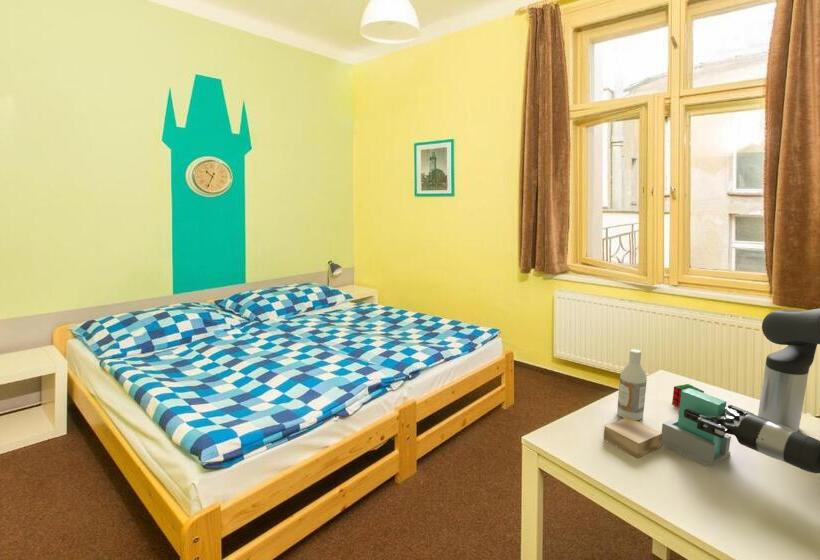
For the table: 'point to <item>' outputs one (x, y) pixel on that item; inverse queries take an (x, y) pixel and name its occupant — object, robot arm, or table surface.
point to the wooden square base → (632, 437)
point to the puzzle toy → (678, 393)
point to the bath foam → (632, 388)
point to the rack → (693, 444)
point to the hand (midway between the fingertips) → (694, 408)
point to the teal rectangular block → (704, 407)
